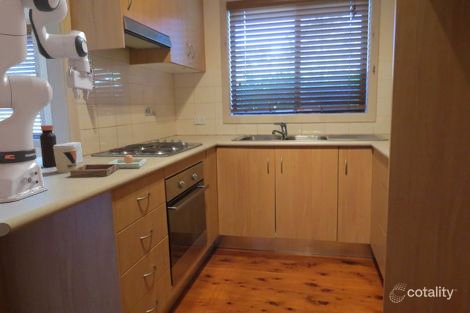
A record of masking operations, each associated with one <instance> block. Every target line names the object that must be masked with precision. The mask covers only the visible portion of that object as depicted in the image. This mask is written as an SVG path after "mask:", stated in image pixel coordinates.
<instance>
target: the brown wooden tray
mask: <svg viewBox="0 0 470 313" xmlns="http://www.w3.org/2000/svg"><path fill="white" fill-rule="evenodd" d="M118 170H119V167H118V164H108V163H106V164H105V163H100V164H98V163H97V164H96V163H95V164H90V163H89V164H84V165H81V166H79V167H76V169H74V170H71V171H70V172H69V173H70V177H71V178H86V177H87V178H88V177H92V178H93V177H108V176H111V175H112V174H113V173H115V172H117V171H118Z"/></svg>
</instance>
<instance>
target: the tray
mask: <svg viewBox="0 0 470 313" xmlns="http://www.w3.org/2000/svg"><path fill="white" fill-rule="evenodd" d="M145 163H146V164H147V158H133V162H132V163H125V162H124V158H116V159H114V160H112V161H110V162H108V163H107V164H118V167H119V169H140V168H142V167H143V166H144V165H146V164H145ZM143 164H144V165H143ZM142 165H143V166H142ZM141 166H142V167H141ZM119 169H118V170H119Z"/></svg>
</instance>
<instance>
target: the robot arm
mask: <svg viewBox="0 0 470 313" xmlns="http://www.w3.org/2000/svg"><path fill="white" fill-rule="evenodd" d="M25 9H28V19H29V23H30V27H31V30H32V32H33V35H34V37H35V41H36V45H37V49H38V50H37V51H38V53H39V54H40V55H41V56H42V57H44V58H45V59H46V60H55V59H67V72H66V78H65V79H66V80H65V81H66V86H67V88H69V89H71V91H72V93H73V98H74V99H75V100H79V99H80V98H81V97H80V93H79V90H81V91H82V92H83V95H82V100H84V101H88V100H89V94H90V91H93V88H94V86H93V85H94V80H93V79H94V78H93V74H94V70H93V68H92V67H91V66H90V61H89V59H88V58H89V57H88V54H89V46H88V42H87V38H86V34H85V33H84V32H83V31H81V30H76V29H72V30H68V31H67V32H66V34H54V33H53V34H51V33H48V32H47V29H46V27H47V26H51V25H56V24H59V23H61V22H62V21H64V19H65V17H66V16H67V15H68V14H67V13H68V12H69V11H68V4H67V0H0V109H10V110H12V114H11V115H10V116H9V117H7V118H4V119H3V120H0V203H10V202H15V201H20V200H22V199H25V198H29V197H31V196H34V195H36V194H39V193H43V192H45V191H47V190H49V187H48V186H47V185H45V181H44V177H43V171H42V168H41V165H39V163H38V162H37V161H36V159H37V150H36V148H35V145H34V124H35V121H36V118H37V117H38V114H39V113H40V112H41V111H42V110H43V109H44V108H46V107H47V106H48V105H49V104H50V103H51V101H52V99H53V94H54V93H53V88H52V86H51V84H50V82H49V81H48V80H47V79H46V78H44V77H43V78H42V77H39V76H35V75H28V74H25V75H24V74H8V73H7V72H8V70H10V69H12V68H13V67H16V66H19V65H20V64H22V63H24V61H26V59H27V58H28V34H27V33H28V30H27V21H26V14H25Z"/></svg>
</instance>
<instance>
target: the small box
mask: <svg viewBox="0 0 470 313" xmlns="http://www.w3.org/2000/svg"><path fill="white" fill-rule="evenodd" d="M64 144H76V164H79V163H83V162H84V159H83V150H82V149H83V148H82V142H77V141H72V142H67V143H66V142H65V143H64Z"/></svg>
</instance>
